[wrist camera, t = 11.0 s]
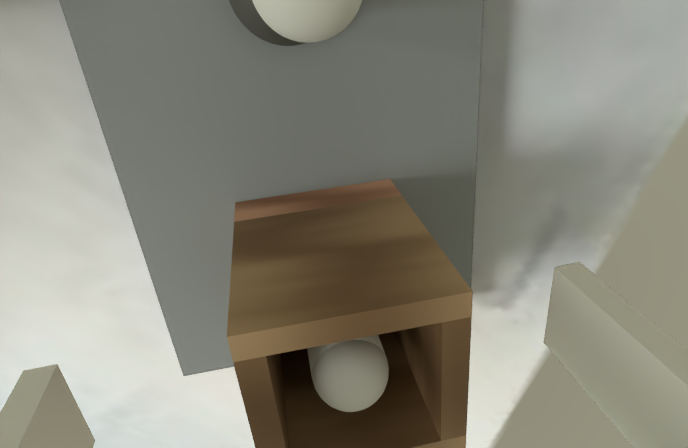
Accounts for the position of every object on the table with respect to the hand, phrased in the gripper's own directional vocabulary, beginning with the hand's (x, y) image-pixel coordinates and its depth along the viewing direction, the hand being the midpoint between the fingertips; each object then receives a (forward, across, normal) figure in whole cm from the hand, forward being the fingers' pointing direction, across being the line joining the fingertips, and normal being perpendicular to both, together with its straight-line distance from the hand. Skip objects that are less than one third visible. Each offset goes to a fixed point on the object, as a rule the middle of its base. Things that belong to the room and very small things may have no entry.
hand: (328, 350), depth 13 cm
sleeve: (+5, +1, 0) cm, 5 cm away
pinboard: (+7, +1, +4) cm, 8 cm away
